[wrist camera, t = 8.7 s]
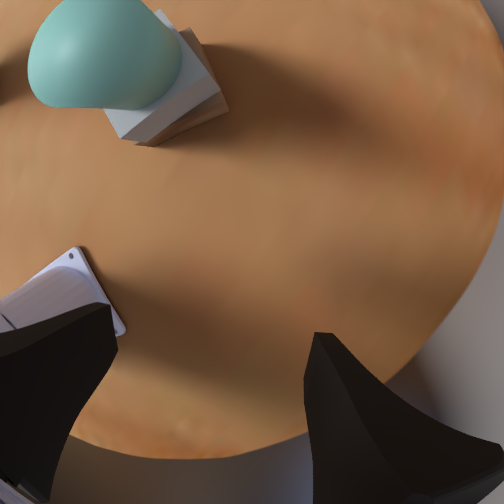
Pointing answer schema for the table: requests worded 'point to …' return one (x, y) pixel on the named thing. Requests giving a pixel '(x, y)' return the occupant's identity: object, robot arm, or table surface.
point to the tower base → (202, 111)
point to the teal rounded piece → (103, 56)
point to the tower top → (167, 97)
